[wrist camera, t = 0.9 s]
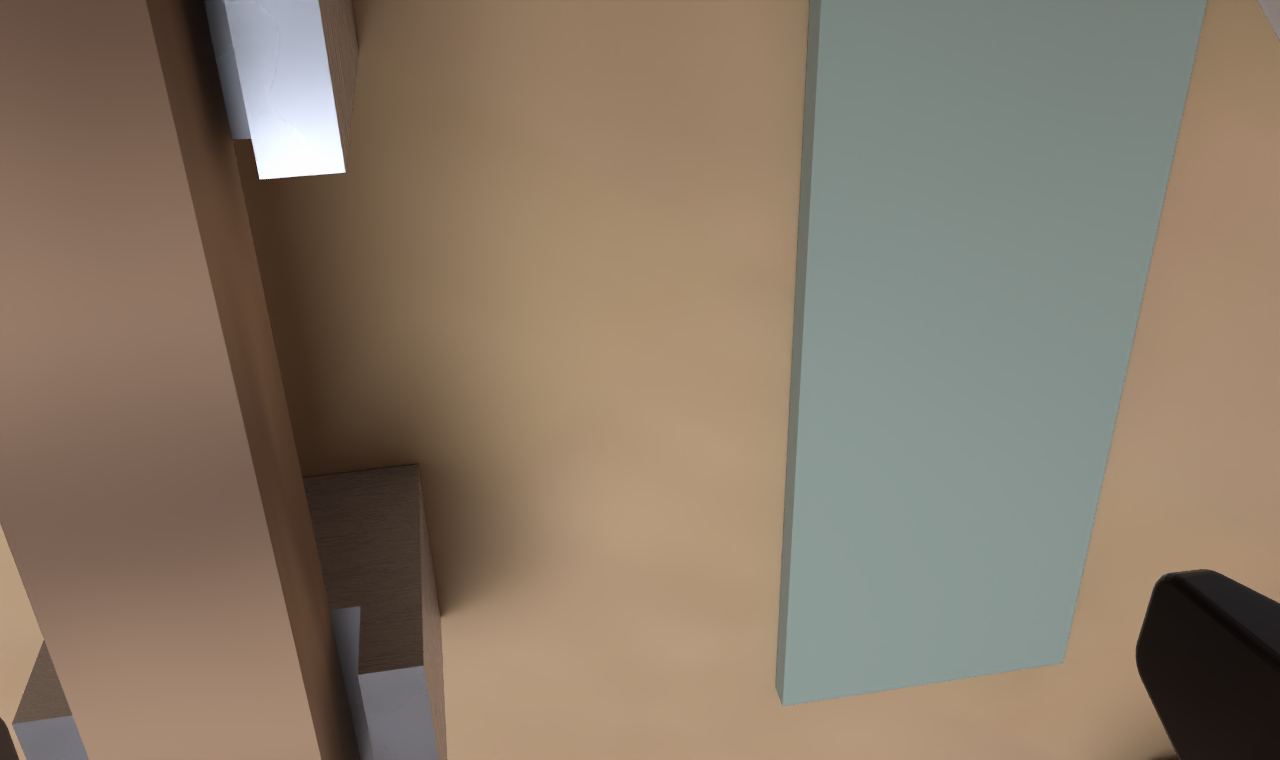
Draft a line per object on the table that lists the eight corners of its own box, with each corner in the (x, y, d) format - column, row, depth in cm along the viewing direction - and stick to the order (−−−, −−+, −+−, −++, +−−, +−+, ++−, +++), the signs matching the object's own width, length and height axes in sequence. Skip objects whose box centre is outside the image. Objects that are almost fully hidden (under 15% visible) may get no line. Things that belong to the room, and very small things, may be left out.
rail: (364, 778, 21) (359, 925, 19) (193, 804, 21) (164, 959, 18) (161, -206, 13) (103, -183, 11) (-127, -194, 13) (-261, -169, 10)
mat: (1051, 646, 29) (1063, 663, 28) (775, 687, 28) (782, 706, 27) (1205, -93, 20) (1226, -88, 19) (813, -72, 19) (824, -65, 18)
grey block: (440, 619, 25) (450, 837, 20) (146, 659, 24) (83, 896, 19) (418, 463, 23) (423, 665, 18) (96, 502, 22) (11, 723, 17)
